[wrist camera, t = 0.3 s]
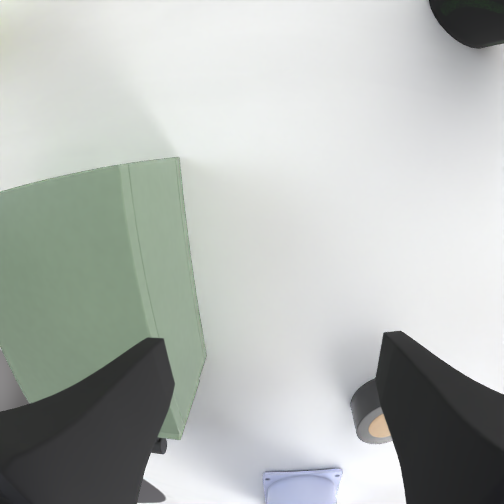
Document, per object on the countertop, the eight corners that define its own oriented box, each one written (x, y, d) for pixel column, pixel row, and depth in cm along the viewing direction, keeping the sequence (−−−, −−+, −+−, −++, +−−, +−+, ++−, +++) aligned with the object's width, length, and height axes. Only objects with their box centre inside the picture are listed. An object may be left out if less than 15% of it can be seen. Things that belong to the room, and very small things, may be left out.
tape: (401, 413, 23) (410, 438, 20) (347, 421, 23) (352, 448, 20) (414, 371, 21) (427, 396, 18) (354, 379, 22) (361, 406, 19)
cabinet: (207, 356, 22) (180, 435, 15) (76, 346, 23) (28, 402, 16) (179, 156, 18) (118, 164, 10) (35, 183, 19) (-42, 204, 12)
